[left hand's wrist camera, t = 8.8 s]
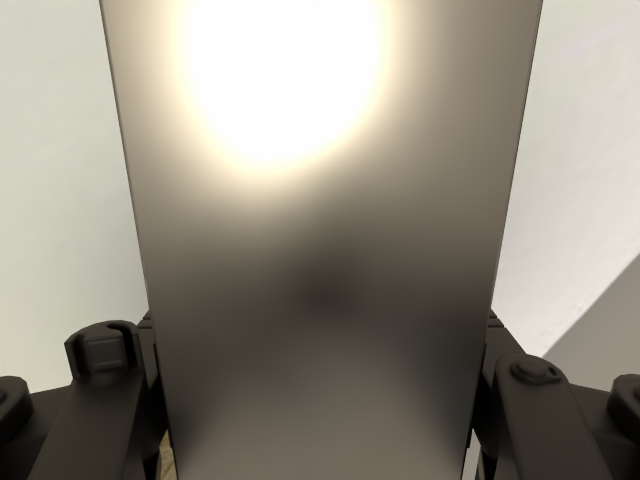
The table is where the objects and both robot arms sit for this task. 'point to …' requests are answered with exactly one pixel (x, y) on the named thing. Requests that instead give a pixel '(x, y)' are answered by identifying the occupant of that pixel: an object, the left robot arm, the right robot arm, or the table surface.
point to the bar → (320, 222)
